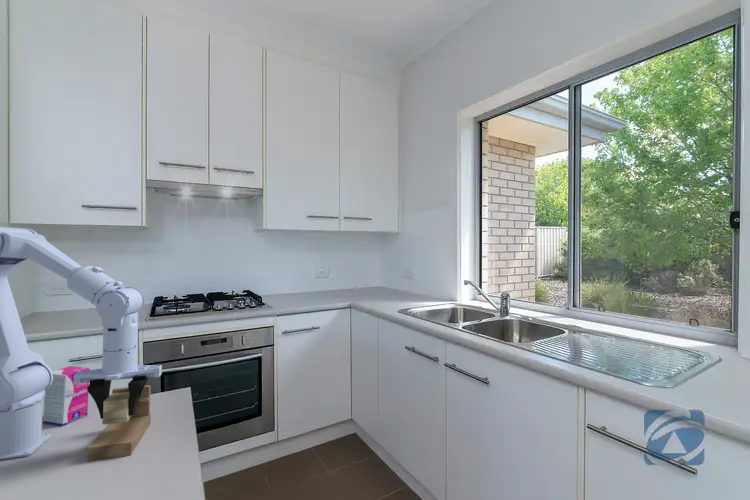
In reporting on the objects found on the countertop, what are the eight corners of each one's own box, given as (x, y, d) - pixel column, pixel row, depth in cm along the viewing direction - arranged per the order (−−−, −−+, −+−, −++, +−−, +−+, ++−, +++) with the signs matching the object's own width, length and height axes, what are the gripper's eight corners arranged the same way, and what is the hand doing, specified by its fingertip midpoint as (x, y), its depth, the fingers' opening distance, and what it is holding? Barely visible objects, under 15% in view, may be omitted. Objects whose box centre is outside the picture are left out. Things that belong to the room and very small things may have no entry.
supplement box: (63, 426, 78) (64, 375, 78) (42, 423, 79) (43, 373, 80) (89, 415, 84) (90, 367, 84) (69, 412, 85) (70, 365, 85)
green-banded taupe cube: (102, 425, 68) (102, 401, 68) (110, 415, 72) (111, 393, 72) (127, 422, 70) (127, 399, 70) (134, 412, 74) (134, 391, 74)
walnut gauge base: (87, 461, 66) (88, 413, 66) (114, 428, 78) (115, 387, 78) (130, 455, 68) (131, 408, 68) (150, 423, 80) (151, 384, 80)
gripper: (66, 356, 65) (64, 429, 65) (155, 350, 70) (154, 419, 70) (84, 346, 72) (82, 413, 72) (164, 341, 76) (163, 404, 76)
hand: (118, 415), depth 71 cm, fingers closed on green-banded taupe cube, 4 cm apart
